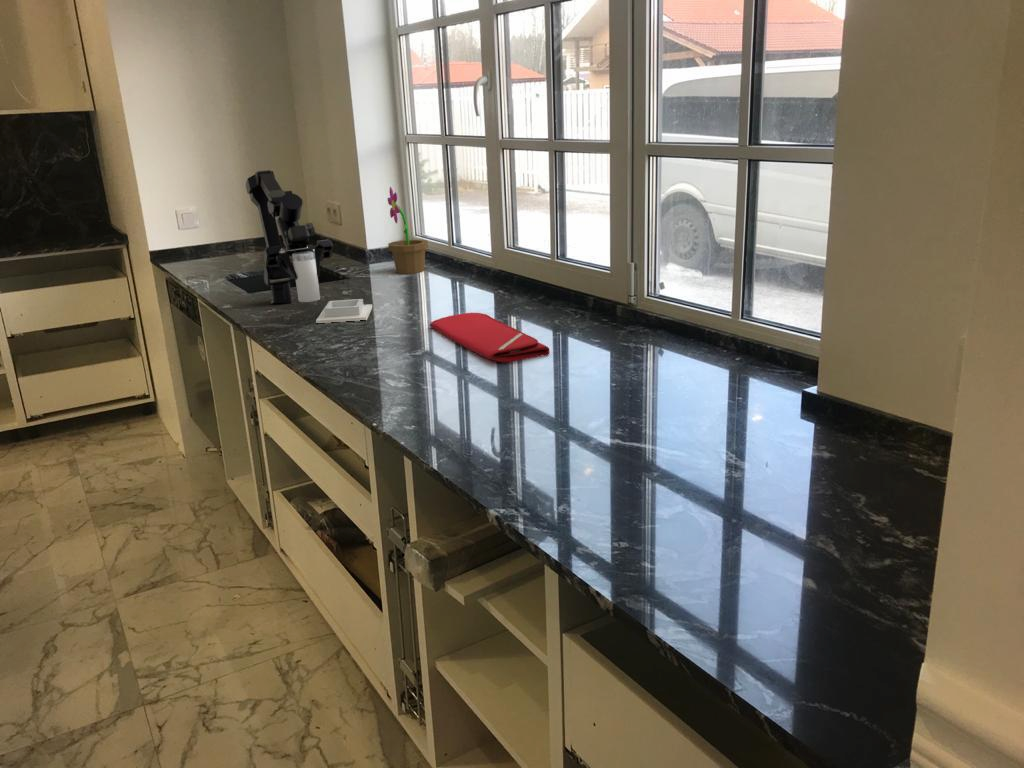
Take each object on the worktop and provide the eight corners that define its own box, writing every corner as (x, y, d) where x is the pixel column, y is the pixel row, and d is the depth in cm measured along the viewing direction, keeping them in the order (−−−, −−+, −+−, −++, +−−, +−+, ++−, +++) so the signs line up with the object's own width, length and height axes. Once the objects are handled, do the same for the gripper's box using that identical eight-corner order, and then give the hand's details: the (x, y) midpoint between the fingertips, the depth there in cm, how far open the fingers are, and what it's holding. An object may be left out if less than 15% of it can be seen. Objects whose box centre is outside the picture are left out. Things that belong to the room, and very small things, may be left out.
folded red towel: (483, 320, 234) (482, 307, 233) (552, 356, 198) (551, 340, 197) (429, 329, 228) (428, 316, 227) (490, 368, 192) (489, 352, 191)
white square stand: (325, 310, 253) (323, 299, 252) (372, 307, 254) (371, 296, 253) (316, 324, 238) (314, 311, 237) (366, 320, 239) (364, 308, 237)
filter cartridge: (305, 296, 241) (298, 251, 237) (324, 297, 239) (318, 251, 235) (294, 301, 235) (288, 255, 231) (313, 302, 234) (307, 255, 230)
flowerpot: (385, 270, 309) (376, 186, 299) (422, 265, 314) (415, 183, 304) (397, 277, 296) (388, 189, 287) (436, 271, 302) (428, 185, 292)
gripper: (260, 218, 229) (275, 264, 223) (327, 210, 237) (344, 255, 231) (257, 243, 238) (273, 288, 232) (322, 235, 246) (338, 278, 241)
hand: (307, 277), depth 234 cm, fingers closed on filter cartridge, 6 cm apart
